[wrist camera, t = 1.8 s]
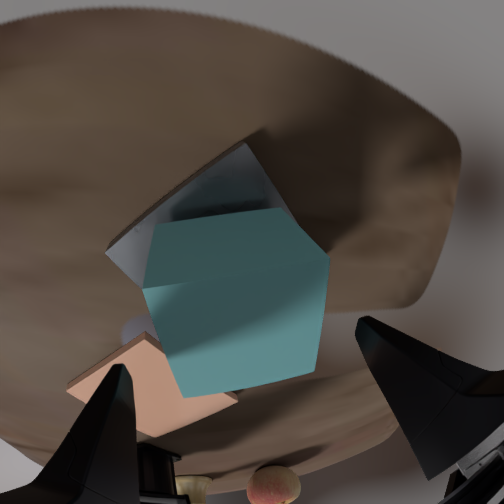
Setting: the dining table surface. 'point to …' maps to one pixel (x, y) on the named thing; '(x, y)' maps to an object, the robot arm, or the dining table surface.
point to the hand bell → (193, 487)
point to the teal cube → (236, 299)
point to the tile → (151, 388)
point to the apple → (273, 486)
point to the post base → (198, 204)
